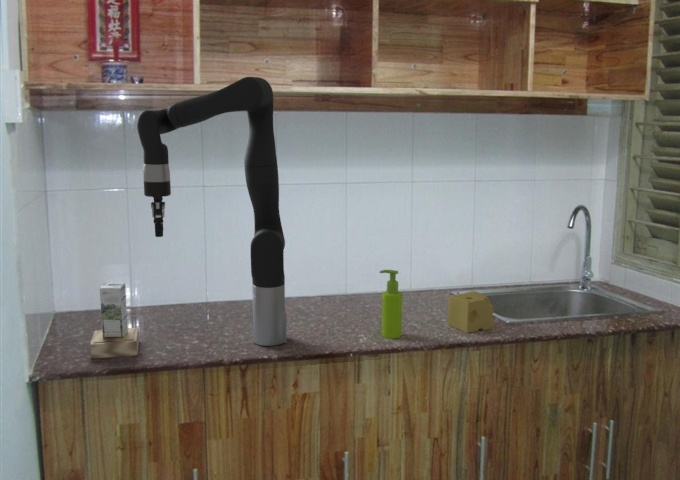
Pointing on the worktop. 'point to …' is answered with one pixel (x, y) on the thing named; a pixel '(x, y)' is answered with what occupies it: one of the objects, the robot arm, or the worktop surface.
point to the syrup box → (113, 310)
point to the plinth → (114, 344)
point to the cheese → (470, 312)
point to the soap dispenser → (391, 308)
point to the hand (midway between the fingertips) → (159, 234)
